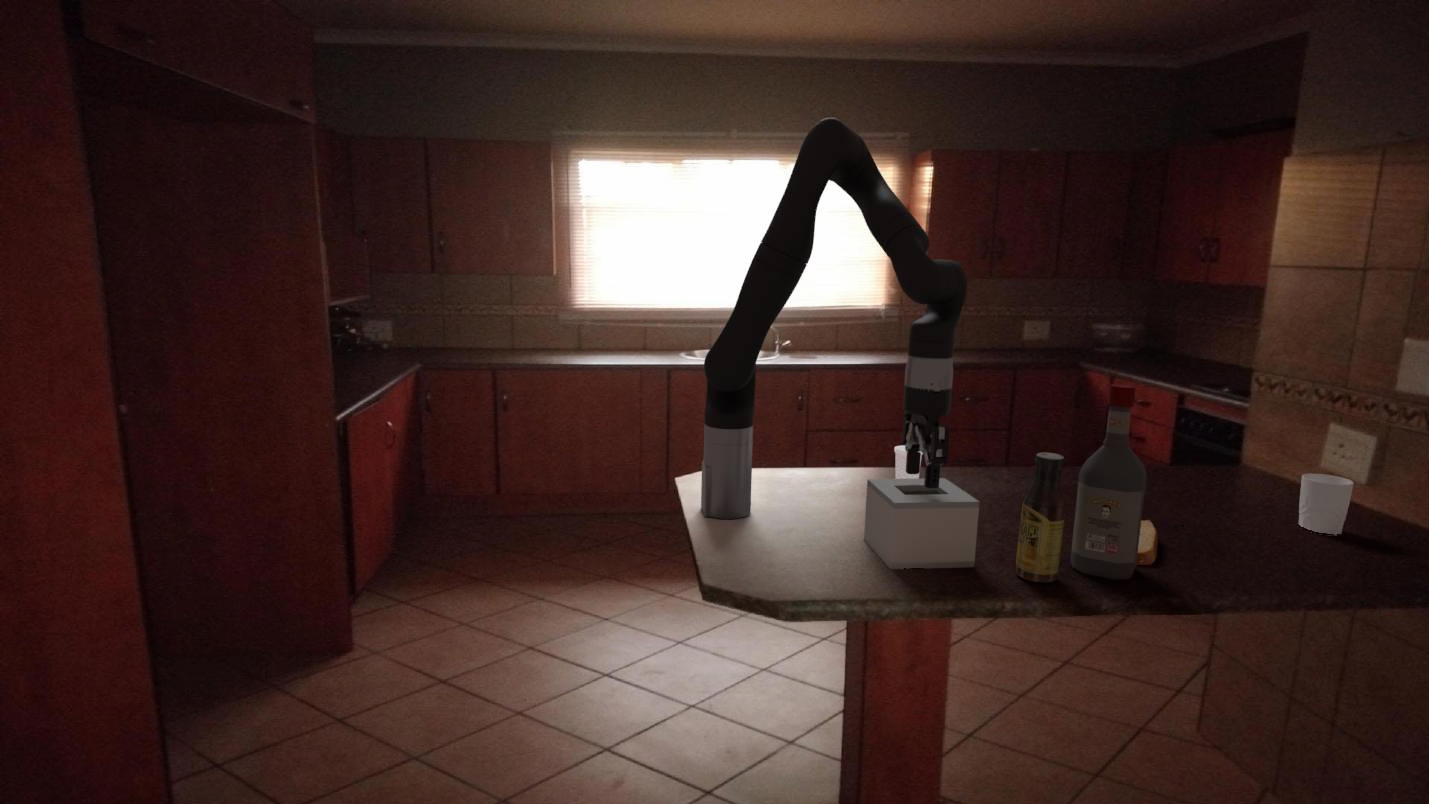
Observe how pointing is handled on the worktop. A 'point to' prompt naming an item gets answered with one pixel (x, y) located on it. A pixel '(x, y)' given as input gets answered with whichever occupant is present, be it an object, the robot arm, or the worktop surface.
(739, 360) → the robot arm
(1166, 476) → the worktop surface
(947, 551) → the grey box with opening
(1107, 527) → the liquor
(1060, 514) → the sauce bottle
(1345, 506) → the white cup
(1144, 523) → the slice of bread
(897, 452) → the beverage cup
